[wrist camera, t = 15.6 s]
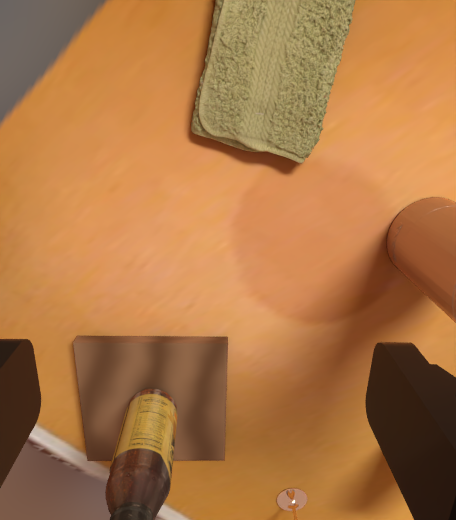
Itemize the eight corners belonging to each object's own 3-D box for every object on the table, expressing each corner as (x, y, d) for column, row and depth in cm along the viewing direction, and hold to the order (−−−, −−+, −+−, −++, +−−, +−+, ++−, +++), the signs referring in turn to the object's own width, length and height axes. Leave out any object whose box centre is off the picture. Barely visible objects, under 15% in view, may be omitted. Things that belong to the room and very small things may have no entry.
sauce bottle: (160, 432, 54) (131, 606, 36) (118, 410, 53) (65, 579, 34) (190, 399, 53) (175, 563, 34) (147, 374, 51) (107, 532, 33)
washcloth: (187, 136, 43) (185, 139, 40) (224, -69, 37) (225, -83, 34) (310, 164, 45) (317, 168, 42) (365, -29, 38) (378, -40, 35)
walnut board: (227, 336, 51) (227, 343, 50) (224, 451, 58) (224, 460, 56) (76, 335, 51) (73, 342, 49) (90, 451, 57) (87, 460, 56)
